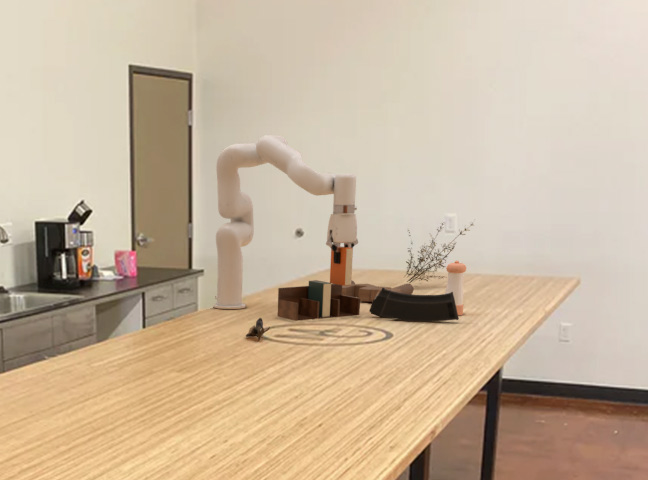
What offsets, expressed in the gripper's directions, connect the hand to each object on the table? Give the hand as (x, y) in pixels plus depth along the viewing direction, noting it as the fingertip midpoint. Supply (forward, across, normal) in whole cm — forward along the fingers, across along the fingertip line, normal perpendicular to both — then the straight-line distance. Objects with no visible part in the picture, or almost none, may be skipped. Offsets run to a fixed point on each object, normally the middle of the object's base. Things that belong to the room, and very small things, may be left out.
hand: (341, 262), depth 381 cm
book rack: (+19, +9, 0) cm, 21 cm away
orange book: (+8, 0, 0) cm, 8 cm away
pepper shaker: (+19, -39, +16) cm, 46 cm away
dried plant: (+19, -86, -55) cm, 104 cm away
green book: (+18, +9, 0) cm, 20 cm away
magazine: (+19, -16, +22) cm, 33 cm away
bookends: (+19, -38, -35) cm, 55 cm away
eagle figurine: (+19, +52, +28) cm, 62 cm away
